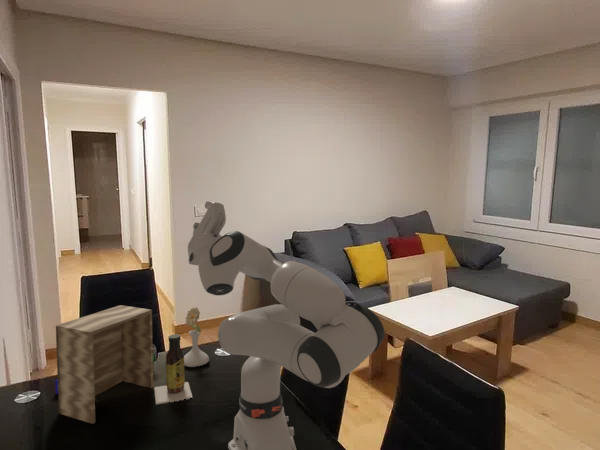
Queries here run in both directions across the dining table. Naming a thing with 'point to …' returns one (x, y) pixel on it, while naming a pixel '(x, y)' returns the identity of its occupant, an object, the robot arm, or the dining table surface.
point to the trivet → (171, 394)
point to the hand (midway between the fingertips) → (202, 213)
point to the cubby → (102, 357)
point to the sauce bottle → (175, 365)
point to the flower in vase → (194, 341)
